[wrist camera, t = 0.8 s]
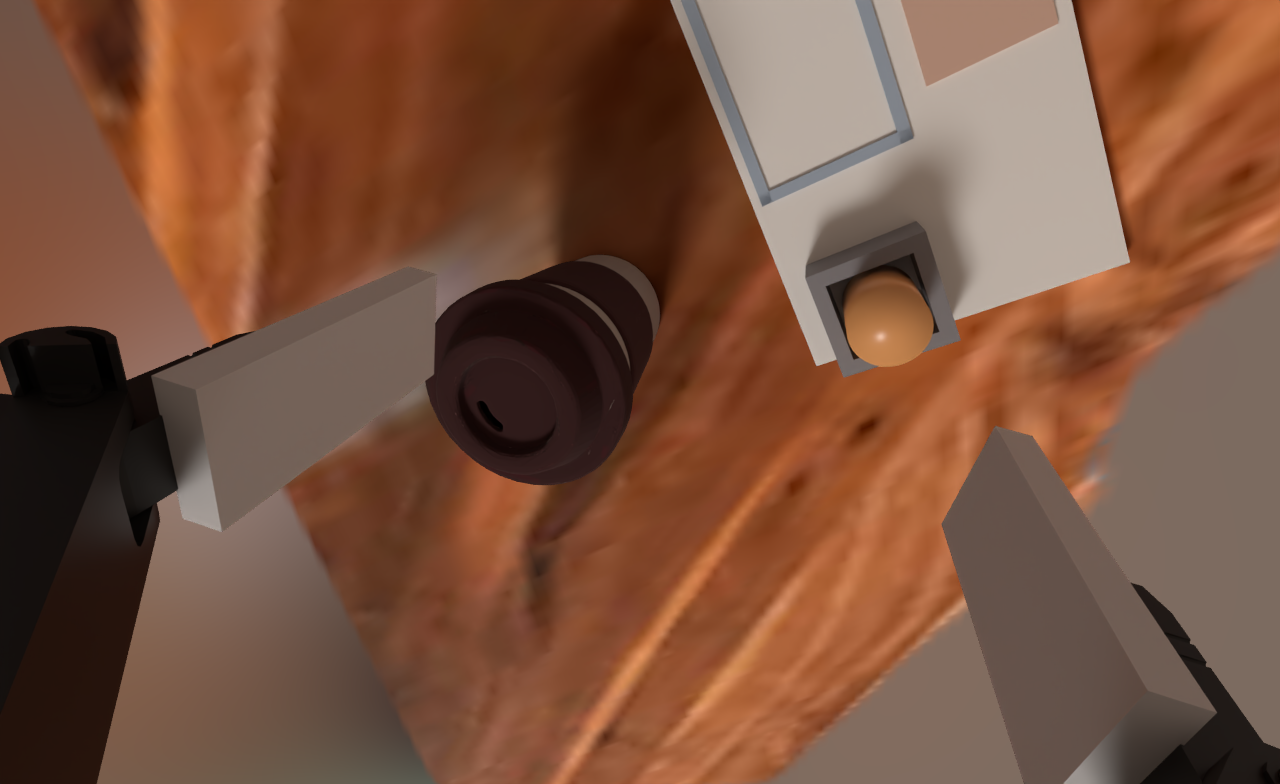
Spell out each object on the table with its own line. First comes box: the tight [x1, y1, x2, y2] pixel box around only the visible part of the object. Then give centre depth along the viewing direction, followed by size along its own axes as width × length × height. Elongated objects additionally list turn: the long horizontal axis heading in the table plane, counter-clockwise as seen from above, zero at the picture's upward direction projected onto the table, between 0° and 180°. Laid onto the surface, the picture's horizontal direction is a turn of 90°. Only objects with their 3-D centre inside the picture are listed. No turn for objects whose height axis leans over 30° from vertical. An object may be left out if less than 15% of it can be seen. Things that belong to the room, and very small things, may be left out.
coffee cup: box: [425, 255, 660, 485], centre depth 33 cm, size 10×10×15 cm
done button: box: [842, 265, 934, 367], centre depth 31 cm, size 4×4×5 cm
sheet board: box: [670, 0, 1130, 377], centre depth 30 cm, size 22×16×4 cm
